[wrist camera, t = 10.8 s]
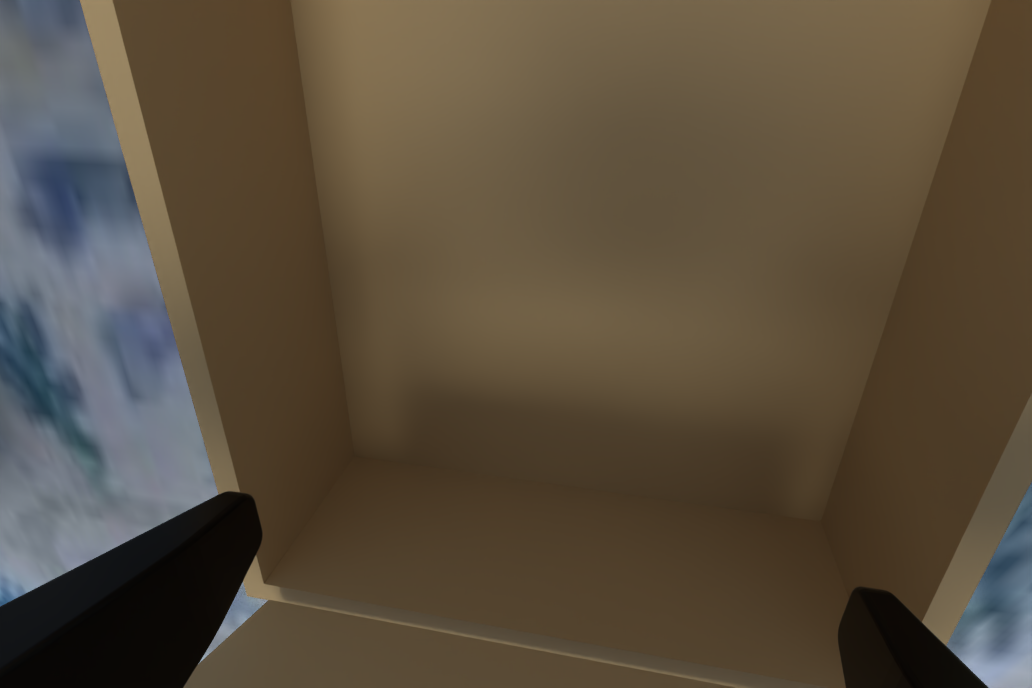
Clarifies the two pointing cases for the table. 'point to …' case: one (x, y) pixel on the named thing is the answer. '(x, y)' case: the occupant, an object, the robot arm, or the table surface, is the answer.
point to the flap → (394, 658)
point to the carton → (598, 306)
